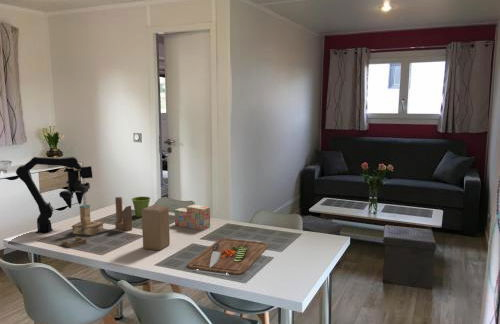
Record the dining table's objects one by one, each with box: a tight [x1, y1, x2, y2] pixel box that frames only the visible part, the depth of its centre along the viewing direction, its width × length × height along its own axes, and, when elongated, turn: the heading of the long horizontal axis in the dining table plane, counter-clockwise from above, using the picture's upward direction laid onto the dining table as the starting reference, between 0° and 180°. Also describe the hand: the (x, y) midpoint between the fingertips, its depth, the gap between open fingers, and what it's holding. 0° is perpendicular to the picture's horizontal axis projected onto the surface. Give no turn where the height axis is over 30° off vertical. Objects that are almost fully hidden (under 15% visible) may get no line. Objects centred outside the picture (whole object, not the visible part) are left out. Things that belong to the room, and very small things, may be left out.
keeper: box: [61, 236, 87, 249], centre depth 213 cm, size 8×9×2 cm
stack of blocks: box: [174, 204, 211, 231], centre depth 242 cm, size 21×6×12 cm, turn 60°
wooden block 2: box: [115, 196, 133, 232], centre depth 237 cm, size 4×11×18 cm, turn 54°
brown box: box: [71, 221, 104, 236], centre depth 232 cm, size 14×10×4 cm
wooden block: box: [141, 204, 171, 251], centre depth 206 cm, size 10×10×20 cm
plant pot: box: [131, 196, 151, 218], centre depth 266 cm, size 12×12×11 cm
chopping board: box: [186, 237, 270, 277], centre depth 195 cm, size 45×27×3 cm, turn 161°
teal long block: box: [79, 204, 92, 226], centre depth 230 cm, size 4×4×11 cm
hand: (75, 206), depth 239 cm, fingers open, 9 cm apart
